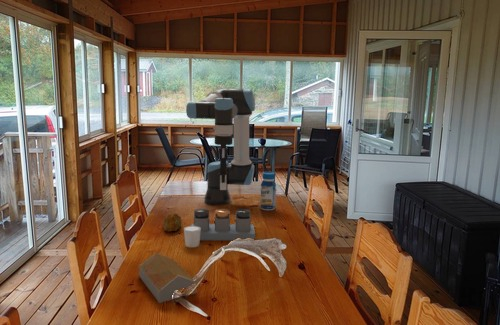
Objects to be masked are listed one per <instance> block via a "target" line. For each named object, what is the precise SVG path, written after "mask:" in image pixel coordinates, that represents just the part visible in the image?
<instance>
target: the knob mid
mask: <svg viewBox="0 0 500 325" xmlns="http://www.w3.org/2000/svg"><path fill="white" fill-rule="evenodd" d="M215 217H216V218H221V219H224V218H229V217H230V218H231V210H229V209H227V208H218V209H216V210H215V211H214V218H215Z"/></svg>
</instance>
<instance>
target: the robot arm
mask: <svg viewBox="0 0 500 325" xmlns="http://www.w3.org/2000/svg"><path fill="white" fill-rule="evenodd" d="M255 101H256V100H255V95H254V92H253V90H252V89H249V88H220V89H217V90H214V91H210V92H209V93H208V94H207V95H206V97H204V98H202V99H200V100H198V101H196V100H195V101H188V102H187V103H186V109H185V111H186V112H185V113H186V116H187V118H189V119H194V120H196V119H199V120H203V119H204V120H206V119H207V120H214V126H213V130H214V134H215V135H214V144H215V145H217V146H220V148H218V154H219V156H218V159H219V160H220V161H219V160H218V161H213V162H210V163H209V164H208V165H207V173H206V174H207V176H206V178H207V181H206V182H207V187H206V192H205V195H204V198H203V199H204V203H206V204H207V205H213V206H216V205H217V206H218V205H219V206H221V205H227V204H230V203H231V200H232V199H231V194H230V192H229V189H228V187H229V185H230V186H231V185H233V186H235V185H236V186H250V185H251V184H252V182H253V180H254V179H253V178H254V173H255V165H254V164H253V162H252V161H251V159H250V117H251V116H252V115H253V112H255V110H256V102H255ZM232 135H233V136H232ZM232 144H233V159H232V160H231V162H230V163H229V161H227V160H228V154H229V148H228V147H227V146H231V145H232Z"/></svg>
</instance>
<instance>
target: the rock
mask: <svg viewBox="0 0 500 325" xmlns="http://www.w3.org/2000/svg"><path fill="white" fill-rule="evenodd" d="M182 222H183V221H182V217H181V216H180V215H179V214H178V213H177V212H176V213H175V212H172V213H168V214H167V215H166V216H165V218H164V219H163V222H162V225H163V230H164V231H165V232H169V233H170V232H176V231H177V230H179V229H180V228H181V226H182Z"/></svg>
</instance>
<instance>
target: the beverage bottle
mask: <svg viewBox="0 0 500 325" xmlns="http://www.w3.org/2000/svg"><path fill="white" fill-rule="evenodd" d="M275 178H276V172H274V171H264V172H262V179H263V180H262V182H261V184H260V186H261V187H260V207H259V208H260V209H261V210H263V211H274V210H275V209H276V200H277V199H276V195H277V194H276V193H277V188H276V187H277V183H276V182H275Z"/></svg>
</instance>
